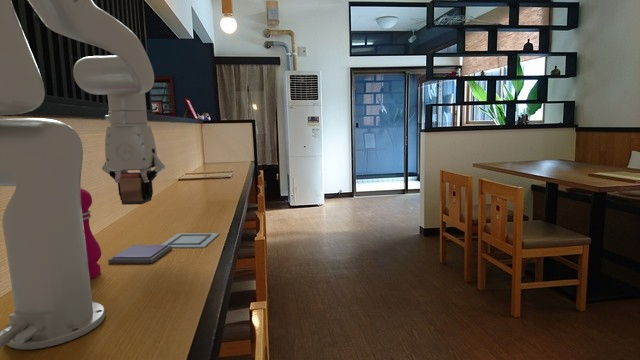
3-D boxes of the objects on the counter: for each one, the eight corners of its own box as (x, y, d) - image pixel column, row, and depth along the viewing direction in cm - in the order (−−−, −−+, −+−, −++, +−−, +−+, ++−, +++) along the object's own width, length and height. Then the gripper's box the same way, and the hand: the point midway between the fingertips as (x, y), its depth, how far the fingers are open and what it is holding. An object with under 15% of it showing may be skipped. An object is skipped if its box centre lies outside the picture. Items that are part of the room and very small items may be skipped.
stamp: (141, 204, 86) (138, 173, 85) (121, 204, 86) (118, 174, 85) (151, 200, 90) (148, 171, 89) (132, 200, 91) (130, 171, 90)
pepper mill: (84, 284, 74) (72, 183, 71) (53, 281, 76) (40, 183, 73) (111, 270, 81) (101, 178, 78) (82, 268, 83) (72, 178, 80)
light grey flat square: (204, 247, 95) (204, 245, 95) (157, 247, 96) (157, 246, 96) (219, 234, 107) (219, 232, 107) (178, 234, 108) (177, 232, 107)
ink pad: (151, 263, 85) (151, 258, 84) (108, 263, 85) (108, 258, 85) (171, 249, 94) (171, 244, 94) (132, 249, 95) (132, 244, 95)
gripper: (81, 120, 82) (91, 202, 85) (157, 118, 81) (164, 201, 84) (103, 120, 89) (111, 196, 92) (172, 119, 89) (178, 195, 91)
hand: (136, 198), depth 88 cm, fingers closed on stamp, 4 cm apart
